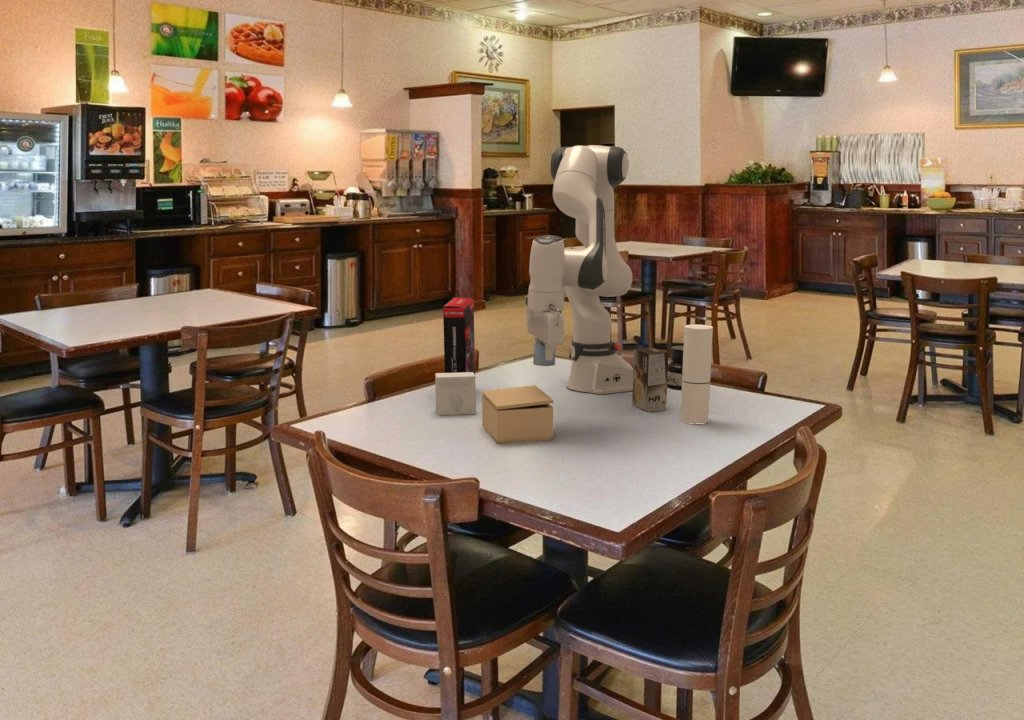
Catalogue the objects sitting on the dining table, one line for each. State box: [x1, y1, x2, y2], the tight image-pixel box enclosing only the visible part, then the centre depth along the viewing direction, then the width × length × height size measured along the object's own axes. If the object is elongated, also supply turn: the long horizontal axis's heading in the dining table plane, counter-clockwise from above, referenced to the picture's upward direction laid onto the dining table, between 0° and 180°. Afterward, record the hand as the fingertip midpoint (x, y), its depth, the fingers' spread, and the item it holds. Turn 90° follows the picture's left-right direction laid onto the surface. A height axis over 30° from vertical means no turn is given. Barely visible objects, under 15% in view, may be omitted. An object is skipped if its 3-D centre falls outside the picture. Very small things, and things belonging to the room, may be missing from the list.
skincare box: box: [434, 372, 477, 416], centre depth 251 cm, size 10×6×10 cm, turn 98°
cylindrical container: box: [679, 323, 714, 425], centre depth 242 cm, size 7×7×25 cm
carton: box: [481, 394, 554, 444], centre depth 232 cm, size 14×16×8 cm
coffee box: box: [631, 346, 669, 413], centre depth 257 cm, size 9×6×16 cm
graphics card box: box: [442, 297, 476, 376], centre depth 269 cm, size 17×7×27 cm, turn 174°
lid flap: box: [481, 384, 554, 410], centre depth 231 cm, size 14×16×1 cm
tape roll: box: [532, 342, 557, 367], centre depth 233 cm, size 5×5×5 cm
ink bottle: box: [667, 345, 684, 390], centre depth 282 cm, size 10×9×12 cm
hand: (544, 357), depth 233 cm, fingers closed on tape roll, 5 cm apart
